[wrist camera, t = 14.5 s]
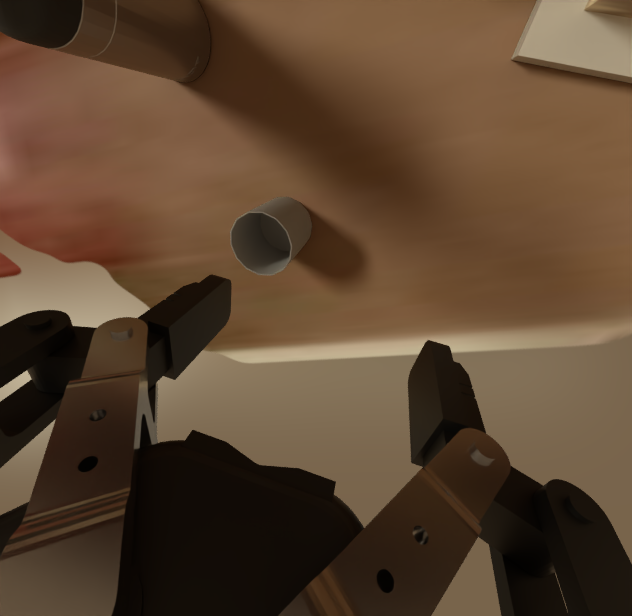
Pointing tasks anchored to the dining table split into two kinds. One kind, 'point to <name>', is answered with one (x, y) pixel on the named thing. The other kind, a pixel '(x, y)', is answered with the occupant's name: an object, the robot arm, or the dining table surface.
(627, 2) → the maple block
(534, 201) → the dining table surface
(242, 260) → the cup
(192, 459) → the robot arm
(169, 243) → the dining table surface
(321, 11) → the dining table surface
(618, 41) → the block
